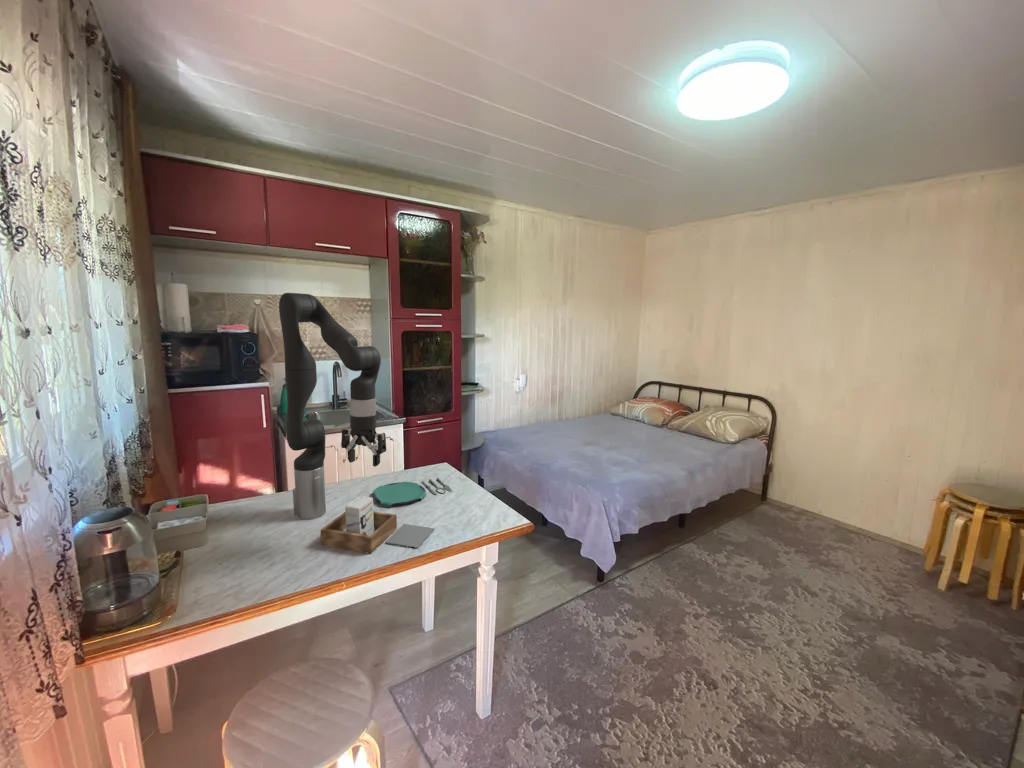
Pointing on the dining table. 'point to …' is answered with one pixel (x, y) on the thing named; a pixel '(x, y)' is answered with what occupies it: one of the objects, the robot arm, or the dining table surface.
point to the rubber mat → (410, 535)
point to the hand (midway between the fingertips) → (363, 463)
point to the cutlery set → (403, 492)
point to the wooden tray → (358, 542)
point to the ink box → (360, 516)
